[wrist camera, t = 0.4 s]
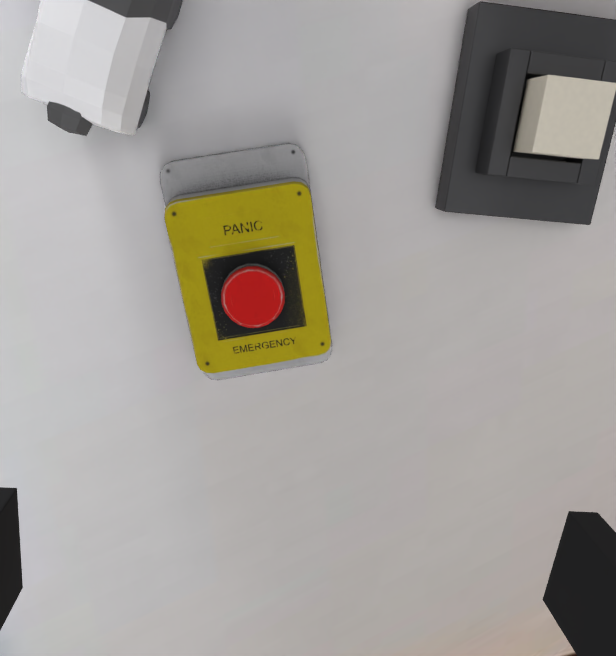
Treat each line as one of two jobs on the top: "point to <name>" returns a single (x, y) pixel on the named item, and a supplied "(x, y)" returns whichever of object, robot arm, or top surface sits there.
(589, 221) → the grey stepped base
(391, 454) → the top surface
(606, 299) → the top surface
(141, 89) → the giant panda
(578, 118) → the cream square push button
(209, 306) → the emergency button
